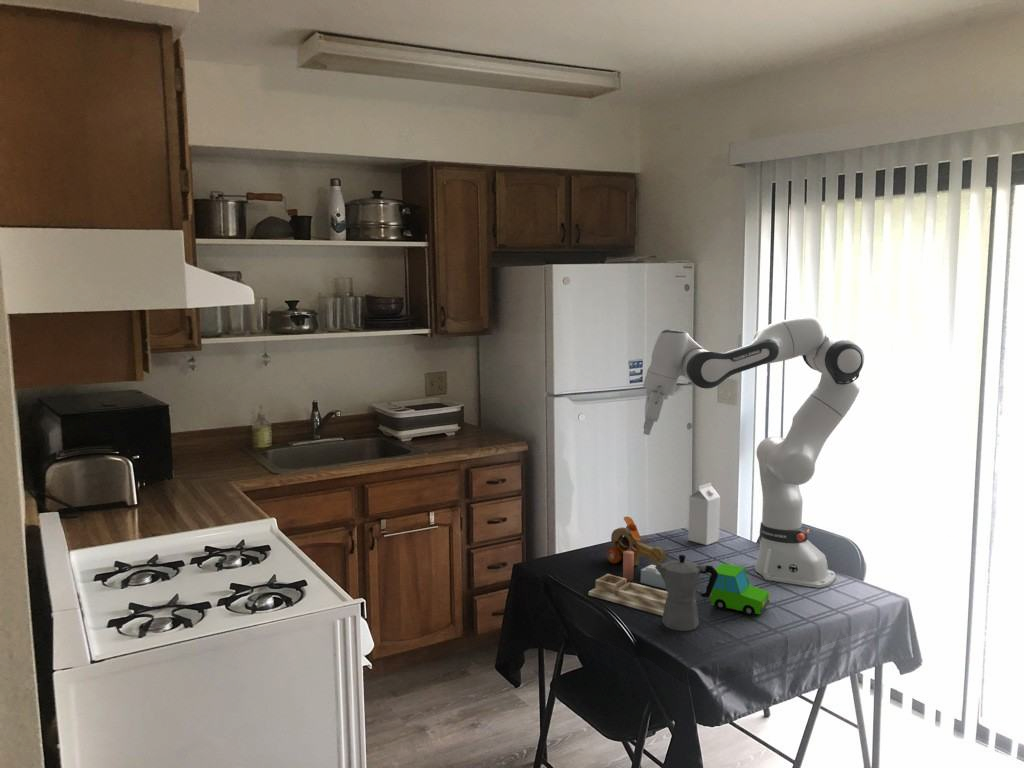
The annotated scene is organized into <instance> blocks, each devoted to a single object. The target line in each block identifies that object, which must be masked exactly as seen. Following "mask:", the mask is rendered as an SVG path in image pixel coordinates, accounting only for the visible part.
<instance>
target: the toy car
mask: <svg viewBox="0 0 1024 768" xmlns="http://www.w3.org/2000/svg"><path fill="white" fill-rule="evenodd" d="M714 569H715V570H716V571H717V572H718V577H717V579H716V582H715V584H714V587H713V589H712V592H711V594H710V605H713V606H715V608H716V609H717V610H718V609H720V610H719V611H724V610H726V609H732V610H736V611H740V612H743V614H744V615H745V616H747V617H753V616H754V615H755V614H756V615H762V613H763V612H764V610H766V608H767V607H768V606H769V604H770V599H771V595H770V592H769V591H768V590H765V589H762V588H760V587H757V586H755V585H752V584H751V582H750V579H749V578H748V577H749V576H748V575H747V571H746V568H745V567H744V566H739V565H735V564H729V563H725V562H724V563H723V562H721V563H720V564H719V565H718V566H717V567H716V568H714Z"/></svg>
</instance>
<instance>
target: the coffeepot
mask: <svg viewBox="0 0 1024 768" xmlns="http://www.w3.org/2000/svg"><path fill="white" fill-rule="evenodd" d="M655 565H656V564H655ZM655 569H657V570H658V571H659V573H660V574H661V576H662V578H663V579H664V581H665V588H666V589H665V591H666V592H668V597H667V599H666V603H665V608H664V613H663V616H662V619H661V622H662V624H663V625H664V626H665V628H668V629H670V630H672V631H679V632H681V631H682V632H687V631H688V632H690V631H692V630H696V629H697V628H698V626H699V625H700V618H699V612H698V606H697V600H696V597H695V595H696V594H697V592H698V586H699V581H700V576H701V574H710V576H709V579H708V583H707V585H706V588H705V589H706V591H705V592H703V593H700V596H701V597H702V598H709V597H711V592H712V589H713V587H714V584H715V582H716V579H717V577H718V572H717V571H716V570H715V569H716V568H714V566H712V565H705V564H697V563H696V562H692V561H687V560H686V555H684V554H679V555H678V560H671V561H666V563H665V562H664V563H659V564H657V565H656V567H655Z"/></svg>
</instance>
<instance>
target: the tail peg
mask: <svg viewBox="0 0 1024 768" xmlns="http://www.w3.org/2000/svg"><path fill="white" fill-rule="evenodd" d="M634 568H635V567H634V552H632V551H624V552H623V560H622V578H626V579H627V582H633V581H634Z"/></svg>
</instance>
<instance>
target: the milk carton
mask: <svg viewBox="0 0 1024 768" xmlns="http://www.w3.org/2000/svg"><path fill="white" fill-rule="evenodd" d="M688 502H689V503H688V504H689V509H688V510H689V511H688V537H687V539H688V541H690V542H693V543H697V544H701V545H705V546H709V545H711V544H714V543H716V542H718V541H720V520H721V519H720V518H721V517H720V513H721V496H720V494H719V493H718V492H717V490H716V489H715V488H714V487H713V486H712V482H709V483H705V484H702V485H699V486H698V490H696V491H695V492H693V493H692V494H690V495H689V501H688Z"/></svg>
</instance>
